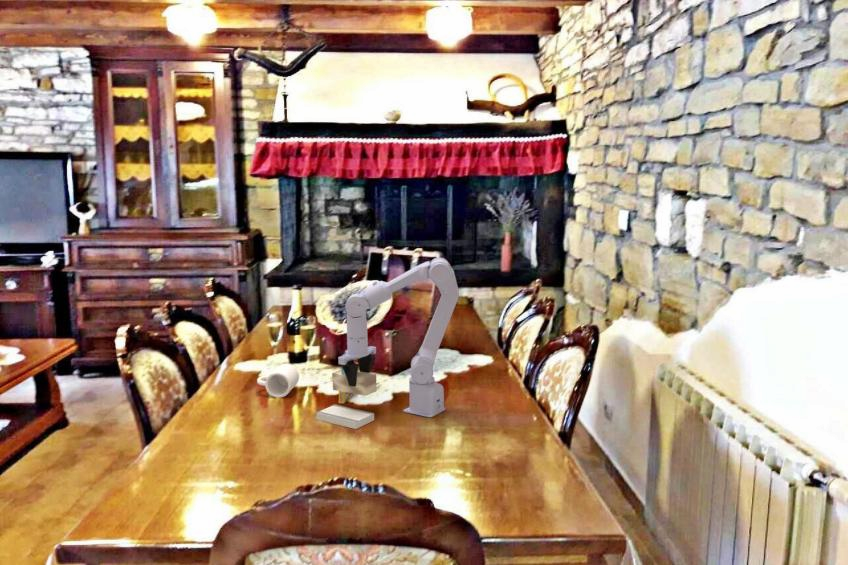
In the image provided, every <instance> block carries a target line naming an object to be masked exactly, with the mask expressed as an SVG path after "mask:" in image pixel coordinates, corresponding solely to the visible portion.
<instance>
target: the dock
mask: <svg viewBox="0 0 848 565" xmlns="http://www.w3.org/2000/svg"><path fill="white" fill-rule="evenodd" d="M315 414H316V417H315V418H316V420H318V421H321V422H324V423H330V424H334V425H338V426H341V427H347V428H350V429H353V430H357V429H359V428H361V427H364V426H366V425H367V424H369V423H371V422H373V421H375V413H374V412H370V411H366V410H361V409H357V408H352V407H347V406H344V405H340V404H335V403H334V404H332V405H331V406H329V407H327V408H324V409H321V410H320V411H316V412H315Z"/></svg>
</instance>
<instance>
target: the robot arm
mask: <svg viewBox="0 0 848 565" xmlns="http://www.w3.org/2000/svg"><path fill="white" fill-rule="evenodd" d="M455 274H456V273H455V271H454V269H453V267H452V266H451V263H450V262H449V261H448V260H447V259H446V258H444V257H435V258H433V259H432V260H428V261H425V262H423V263H420V264H418V265H416V266H415V267H412V268H411V269H409V270H407V271H405V272H404V273H402V274H400V275H398V276H397V277H395V278H394V279H392V280H389V281H387V282H386V281H383V280H380V281H377V280H375V281H373V282H372V285H369V286H368V287H366V288H365V289H359V290H357V293H353V294H351V295H350V296H349V297H348V299H347V301H346V302H345V305H344V307H345V311H346V340H347V341H346V345H347V349H346V350H345V351H344V354H342V355H341V356H338V358H337V359H338V361H337V362H338V365H339V366H340V368H341V367H342V369H343V370H344V372H345V375H346V377H347V381H348V384H349V386H353V387H355V386H356V382H357V371H358V367H359V371H360V372H366V373H371V371H372V367H373V365H374V363H375V361H376V356H375V354H377V347H376V346H372V345H370V346H368V344H369V342H368V341H369V340H368V320H367V310H372V309H374V308H376V307H378V306H379V305H382V304H383V303H386V302H388V301H390V300H391V298H392V296H393V293H396V292H397V291H400V290H402V289H403V288H405V287H408V286H409V285H412V284H414V283H416V282H425V283H429V280H430V281H431V282H432V283H433V284H434V285H435V286H436V287H437V289H438V291H439V292H440V294H441V295H440V299H439V301H438V304H437V305H436V309H435V311H434V312H433V313H434V314H433V315H432V318H431V322H430V324H429V326H428V329H427V331H426V333H425V336H424V340H423V342H422V344H421V346H420V348H419V350H418V352H417V354H416V355H415V356H413V357H412V359H411V361H410V368H411V369H410V377H409V379H408V380H409V381H408V382H409V385H408V387H409V388H408V390H409V393H408V394H409V406H408V407H406V408H404V409H403V412H404V413H408V414H413V415H417V416H421V417H426V418H432V417H435V416H437V415H438V414H440V413H442V412H444V411H445V410H446V407H445V406H444V405H445V396H444V393H445V392H444V391H445V389H444V386H443V385H442V384H441V383H439V382H438V381H437V382H436V381H435V377H434V376H433V375H434V369H433V368H434V364H435V362H436V357H437V353H438V351H439V348H440V347H441V346H440V345H441V343H442V341H443V338H444V335H445V333H446V330H447V328H448V325H449V323H450V320H451V318H452V316H453V312H454V311H455V307H456V306H457V302H458V300H459V298H460V292H459V287H458V283H457V278H456V275H455ZM356 360H357V362H356ZM357 363H358V364H357Z"/></svg>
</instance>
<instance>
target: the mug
mask: <svg viewBox="0 0 848 565" xmlns="http://www.w3.org/2000/svg"><path fill="white" fill-rule="evenodd" d="M299 381H300V372H299V370H298V369H297V368H296V366H294V365H292V364H290V363H283V364H280V365H278V366H277V368H275V369H274V370H273V371H272V372H271V373H270V374H266V375H261V376H259V377H257V379H256V383H257V385H259V386H263V387H264V388H265V390H266V391H267V393H268V394H269V395H270V396H272V397H274V398H279V399H280V398H284V397H286V396H287V395H288V394H289V393H290V392H291V391H292V389H293V388H295V386H296V385H297V384H298V383H299Z"/></svg>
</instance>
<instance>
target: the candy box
mask: <svg viewBox="0 0 848 565" xmlns="http://www.w3.org/2000/svg"><path fill="white" fill-rule="evenodd" d="M356 363H357V364H358V362H356ZM358 371H360V368H359V367H358ZM352 395H354V394H353V393H347V392H342V391H338V404H343V405H344V404H345V403H346V402H347V401H348V399H350V398H351V397H352Z"/></svg>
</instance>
